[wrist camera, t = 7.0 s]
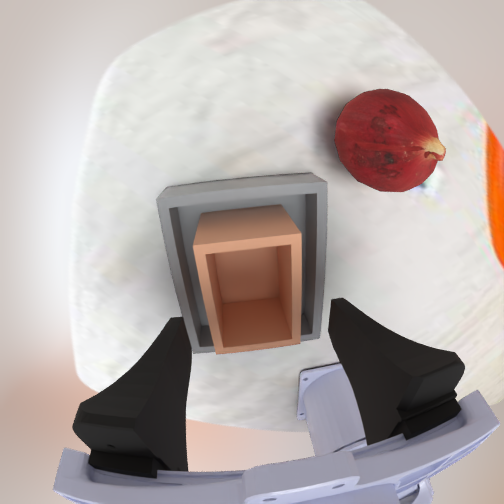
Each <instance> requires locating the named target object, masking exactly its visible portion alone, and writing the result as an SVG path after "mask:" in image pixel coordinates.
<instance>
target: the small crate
mask: <svg viewBox="0 0 504 504" xmlns="http://www.w3.org/2000/svg"><path fill="white" fill-rule="evenodd" d="M193 250H194V255H195V260H196V265H197V270H198V275H199V280H200V285H201V290H202V295H203V300H204V304H205V309H206V313H207V318H208V322H209V327H210V331H211V335H212V340H213V344H214V348H215V352H216V354H226V353H236V352H245V351H254V350H261V349H269V348H276V347H283V346H289V345H296V344H300V338H301V296H302V239H301V232H300V231H299V229H298V228H297V226H296V225H295V223H294V222H293V220H292V219H291V218H290V216H289V215H288V213H287V212H286V210H285V209H284V208H283V206H282V205H281V204H278V205H267V206H258V207H248V208H239V209H230V210H222V211H213V212H205V213H201V215H200V219H199V223H198V227H197V231H196V235H195V239H194V243H193Z"/></svg>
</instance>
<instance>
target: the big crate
mask: <svg viewBox="0 0 504 504" xmlns="http://www.w3.org/2000/svg"><path fill="white" fill-rule="evenodd" d="M156 201H157V206H158V212H159V217H160V222H161V227H162V232H163V237H164V242H165V247H166V251H167V256H168V260H169V265H170V269H171V273H172V278H173V282H174V286H175V290H176V294H177V298H178V302H179V305H180V309H181V313H182V317H183V318H184V322H185V326H186V329H187V333H188V336H189V340H190V343H191V347H192V351H193V354H195V353H209V352H215V348H214V344H213V340H212V335H211V331H210V327H209V322H208V318H207V313H206V309H205V304H204V300H203V295H202V290H201V285H200V280H199V275H198V270H197V265H196V260H195V255H194V250H193V243H194V239H195V235H196V231H197V227H198V223H199V219H200V215H201V213H205V212H213V211H222V210H230V209H239V208H248V207H258V206H267V205H278V204H281V205H282V206H283V208H284V209H285V210H286V212H287V213H288V215H289V216H290V218H291V219H292V220H293V222H294V223H295V225H296V226H297V228H298V229H299V231H300V232H301V239H302V296H301V338H300V342H301V341H307V340H313V339H319V338H320V331H321V320H322V309H323V296H324V281H325V263H326V239H327V181H325V180H323V179H321V178H320V177H318V176H316V175H314V174H313V173H298V174H282V175H269V176H257V177H246V178H235V179H226V180H217V181H208V182H200V183H193V184H185V185H178V186H171V187H167V188H166V189H165V190H164V191H163V192H162V193H161V194H160V195H159V196H158V198H157V199H156Z"/></svg>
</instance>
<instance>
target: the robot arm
mask: <svg viewBox="0 0 504 504" xmlns="http://www.w3.org/2000/svg"><path fill="white" fill-rule="evenodd" d="M328 332H329V336H330V339H331V342H332V345H333V348H334V350H335V352H336V354H337V356H338V358H339V360H340V364H336V365H331V366H326V367H321V368H316V369H310V370H305V371H303V372H301V373H300V383H299V396H298V408H297V419H298V420H303V419H306V422H307V425H308V429H309V433H310V437H311V441H312V444H313V448H314V452H315V455H316V456H313V457H308V458H304V459H298V460H293V461H286V462H280V463H273V464H266V465H261V466H256V467H253V468H251V469H248V470H241V471H224V472H223V471H221V472H188V462H187V450H186V449H187V448H186V401H187V393H188V386H189V379H190V372H191V364H192V347H191V343H190V340H189V336H188V333H187V329H186V326H185V322H184V318H183V317H174V318H170V320H169V321H168V322H167V324H166V325H165V327H164V328H163V330H162V331H161V332H160V334H159V335H158V337H157V338H156V339H155V341H154V342H153V343H152V345H151V346H150V347H149V349H148V350H147V351H146V352H145V353H144V355H143V356H142V357H141V358H140V359H139V360H138V362H137V363H136V364H135V365H134V366H133V367H132V368H131V369H130V370H129V371H127V372H126V373H125V374H124V375H123V376H122V377H120V378H119V379H118V380H117V381H116V382H114V383H113V384H112V385H110V386H109V387H107V388H106V389H104V390H103V391H101V392H100V393H98V394H97V395H95V396H93V397H91V398H89V399H87V400H86V401H84V402H82V403H80V406H79V408H78V411H77V414H76V417H75V420H74V423H73V430H74V432H75V434H76V435H77V436H78V437H79V438H80V439H81V440H82V441H83V442H84V443H85V444H86V445H87V446H88V447H89V448H90V449H91V454H90V455H89V454H87V453H85V452H81V451H77V450H73V449H69V448H64V449H63V452H62V456H61V459H60V463H59V467H58V470H57V475H56V478H55V483H54V487H53V490H54V492H56V493H58V494H59V495H61V496H63V497H65V498H66V499H68V500H70V501H72V502H73V503H75V504H431V502H432V500H433V497H432V496H433V494H434V491H433V489H432V486H431V483H430V477H432V476H434V475H436V474H437V473H439V472H441V471H442V470H444V469H446V468H447V467H449V466H451V465H452V464H454V463H455V462H457V461H459V460H460V459H462V458H463V457H465V456H466V455H468V454H469V453H471V452H472V451H473V450H475V449H476V448H477V447H478V446H479V445H480V444H481V443H482V442H484V441H485V440H486V438H488V437H489V436H490V435H491V434H492V432H493V431H494V430H495V429H496V428H497V427H498V426H499V425H500V422H499V421H498V419H497V417H496V416H495V414H494V413H493V412H492V410H491V408H490V407H489V405H488V404H487V402H486V401H485V399H484V398H483V396H482V395H481V393H480V392H479V391H478V390H476V391H474V392H472V393H470V394H469V395H467V396H465V397H464V398H462V399H461V400H460V401H458V402H457V401H456V399H455V398H456V396H457V393H456V392H455V390H454V389H455V387H456V386H457V384H458V382H459V381H460V379H461V377H462V375H463V373H464V370H465V365H464V363H463V362H462V361H461V359H460V358H459V357H458V355H457V354H456V353H455V352H451V351H445V350H440V349H436V348H432V347H429V346H426V345H423V344H420V343H417V342H414V341H412V340H409V339H407V338H405V337H403V336H400V335H399V334H397V333H395V332H393V331H391V330H389V329H387V328H386V327H384V326H382V325H381V324H379V323H377V322H376V321H374V320H373V319H372V318H370V317H369V316H367V315H366V314H364V313H363V312H362V311H360V310H359V309H358V308H356V307H355V306H354V305H352V304H351V303H350V302H348V301H347V300H345V299H344V298H338V299H331V308H330V318H329V327H328Z"/></svg>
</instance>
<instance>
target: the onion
mask: <svg viewBox="0 0 504 504" xmlns="http://www.w3.org/2000/svg"><path fill="white" fill-rule="evenodd" d="M334 141H335V144H336V148H337V151H338V155H339V158H340V161H341V162H342V164H343V165H344V166H345V167H346V168H347V170H348V171H349V172H350V173H351V175H352V176H353V177H354V178H355V179H356V180H357V181H359V182H361V183H363V184H365V185H367V186H369V187H371V188H373V189H376V190H378V191H383V192H405V191H407V190H410V189H412V188H414V187H416V186H418V185H420V184H422V183H423V182H424V181H425V180H426V179H427V178H428V177H429V176H430V175H431V174H432V173H433V171H434V169H435V167H436V164H437V161H442V160H443V159H444V156H445V153H446V148H445V147H444V146H443V145H442V144H441V142H440V141H439V138H438V133H437V129H436V127H435V125H434V123H433V121H432V120H431V118H430V116H429V115H428V113H427V111H426V110H425V109H424V108H423V107H422V106H421V105H419V104H418V103H417V102H416V101H415V100H414V99H412V98H411V97H410V96H408V95H406V94H404V93H400V92H396V91H393V90H389V89H377V90H372V91H367V92H364V93H362V94H360V95H358V96H357V97H355V98H354V99H353V100H351V101H350V102H348V103H347V104H346V105H345V107H344V109H343V111H342V112H341V114H340V116H339V118H338V119H337V125H336V132H335V139H334Z"/></svg>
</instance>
